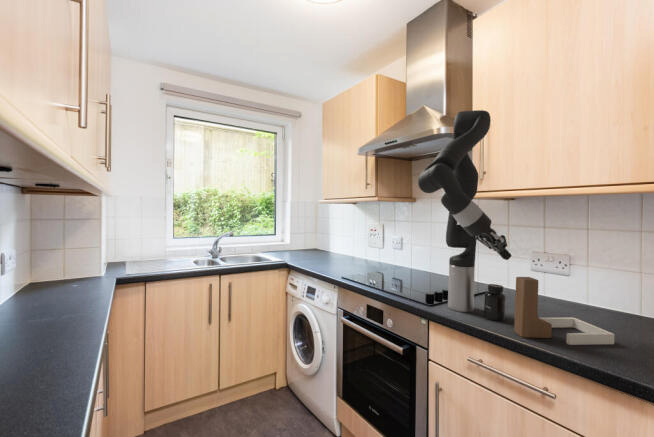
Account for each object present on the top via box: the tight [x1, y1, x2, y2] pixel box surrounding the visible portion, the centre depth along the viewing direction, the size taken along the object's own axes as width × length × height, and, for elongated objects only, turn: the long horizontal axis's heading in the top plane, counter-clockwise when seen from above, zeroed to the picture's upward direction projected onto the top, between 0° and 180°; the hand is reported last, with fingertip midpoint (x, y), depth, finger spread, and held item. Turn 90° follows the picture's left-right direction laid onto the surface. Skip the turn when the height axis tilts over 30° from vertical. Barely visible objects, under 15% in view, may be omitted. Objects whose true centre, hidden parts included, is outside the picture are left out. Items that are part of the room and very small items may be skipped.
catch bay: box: [539, 316, 615, 346], centre depth 98 cm, size 14×14×3 cm
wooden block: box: [513, 276, 552, 339], centre depth 97 cm, size 9×4×18 cm, turn 89°
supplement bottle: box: [483, 283, 507, 322], centre depth 112 cm, size 7×7×12 cm
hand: (508, 257), depth 96 cm, fingers closed
